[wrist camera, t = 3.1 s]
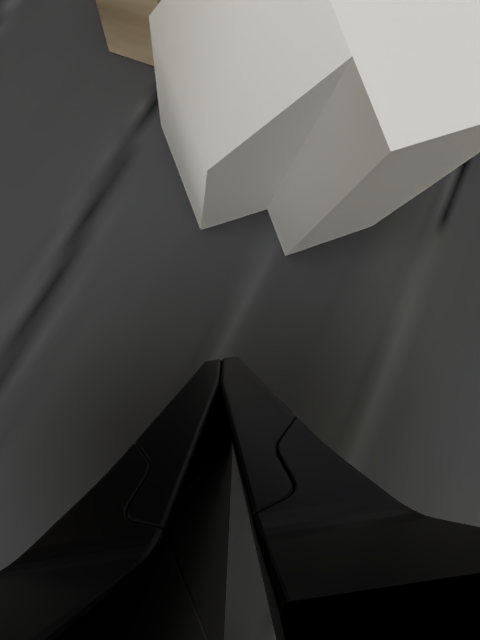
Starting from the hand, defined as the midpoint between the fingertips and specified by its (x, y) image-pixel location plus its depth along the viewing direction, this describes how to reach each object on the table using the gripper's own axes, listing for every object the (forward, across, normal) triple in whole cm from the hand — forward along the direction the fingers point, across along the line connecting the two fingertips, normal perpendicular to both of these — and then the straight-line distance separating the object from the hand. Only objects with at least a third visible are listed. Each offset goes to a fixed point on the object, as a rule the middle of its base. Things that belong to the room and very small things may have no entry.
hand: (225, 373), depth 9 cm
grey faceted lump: (+18, -4, -3) cm, 18 cm away
